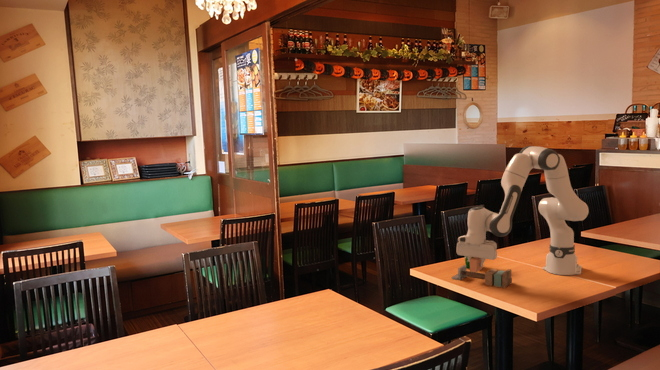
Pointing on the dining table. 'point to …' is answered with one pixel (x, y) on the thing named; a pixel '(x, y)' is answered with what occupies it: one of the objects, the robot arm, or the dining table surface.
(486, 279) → the brown block
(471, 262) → the salmon pink block
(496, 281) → the teal rectangular block
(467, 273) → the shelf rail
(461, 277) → the bookend
